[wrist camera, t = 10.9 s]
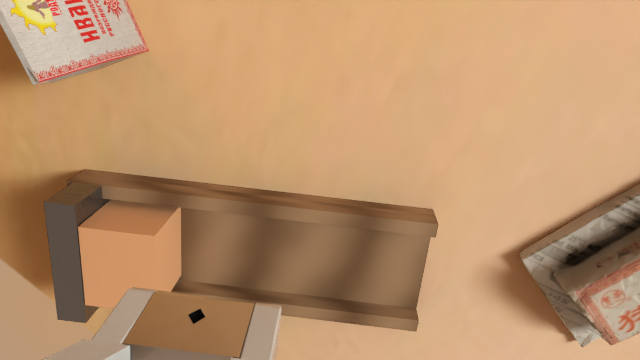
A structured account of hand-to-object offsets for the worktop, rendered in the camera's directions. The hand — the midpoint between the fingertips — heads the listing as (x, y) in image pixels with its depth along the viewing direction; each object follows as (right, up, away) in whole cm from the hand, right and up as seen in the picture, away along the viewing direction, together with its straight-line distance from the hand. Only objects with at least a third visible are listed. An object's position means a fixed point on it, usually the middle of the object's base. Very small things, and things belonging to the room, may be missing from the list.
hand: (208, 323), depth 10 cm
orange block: (-11, -1, +28) cm, 30 cm away
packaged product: (+27, -1, +26) cm, 38 cm away
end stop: (-14, -1, +27) cm, 31 cm away
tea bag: (-12, +14, +22) cm, 29 cm away
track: (-3, -2, +28) cm, 28 cm away
